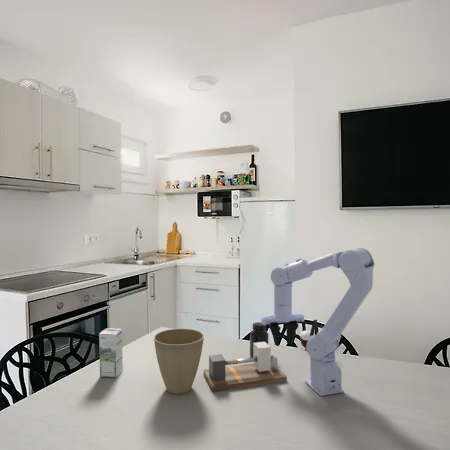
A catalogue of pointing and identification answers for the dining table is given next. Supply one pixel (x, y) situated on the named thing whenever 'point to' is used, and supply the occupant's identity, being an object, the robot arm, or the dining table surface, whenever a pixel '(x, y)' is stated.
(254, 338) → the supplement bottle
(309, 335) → the cocoa
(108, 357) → the syrup box
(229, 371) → the board
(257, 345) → the sleeve
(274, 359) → the rail
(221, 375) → the block
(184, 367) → the plant pot
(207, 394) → the dining table surface
